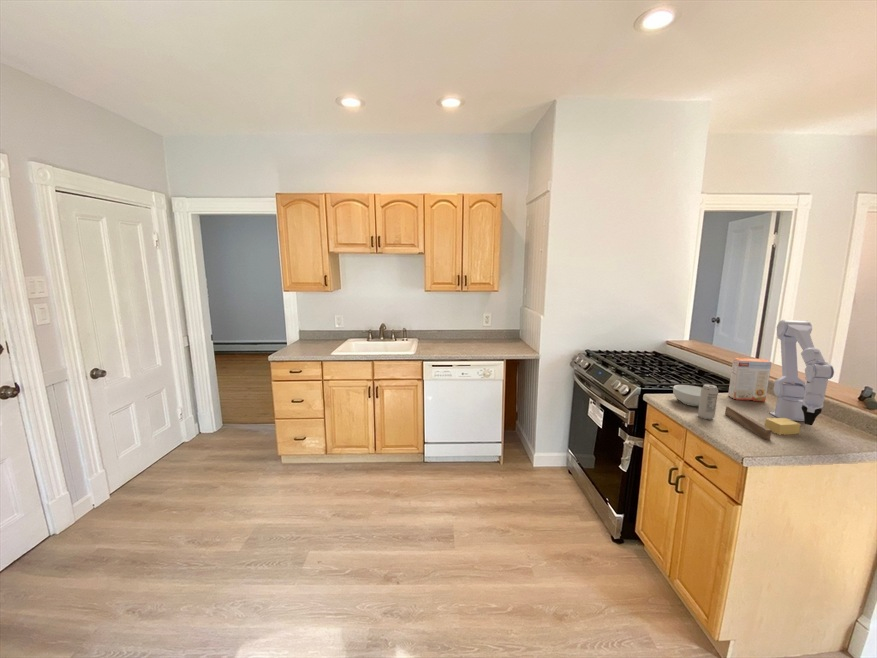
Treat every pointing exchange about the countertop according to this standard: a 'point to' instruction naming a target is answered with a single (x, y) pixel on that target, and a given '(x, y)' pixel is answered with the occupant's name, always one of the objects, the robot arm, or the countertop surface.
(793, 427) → the ochre block
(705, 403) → the energy drink can
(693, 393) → the cereal bowl
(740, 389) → the cracker box
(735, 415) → the walnut board
